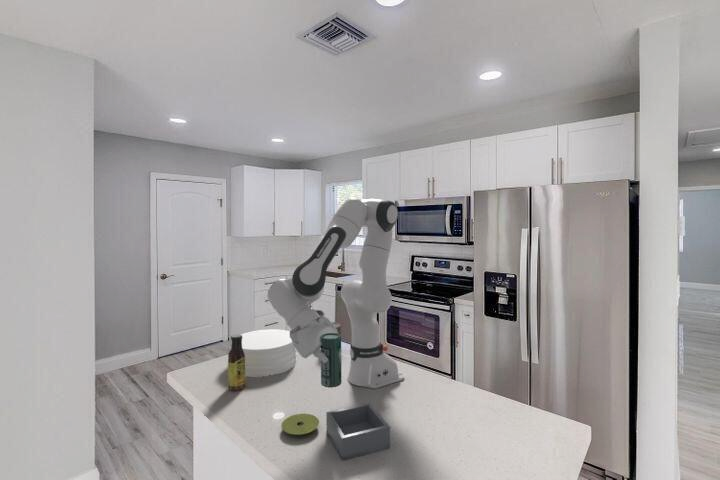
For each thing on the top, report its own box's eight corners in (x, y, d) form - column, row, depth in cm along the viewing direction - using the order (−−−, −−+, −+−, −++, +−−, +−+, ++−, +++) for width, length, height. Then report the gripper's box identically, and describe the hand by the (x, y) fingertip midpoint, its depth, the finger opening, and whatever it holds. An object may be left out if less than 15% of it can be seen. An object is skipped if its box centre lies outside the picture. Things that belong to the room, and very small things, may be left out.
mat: (326, 430, 107) (326, 424, 107) (292, 445, 100) (292, 439, 100) (307, 415, 115) (307, 409, 115) (274, 427, 108) (274, 421, 108)
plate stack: (309, 364, 158) (308, 338, 158) (250, 383, 139) (249, 354, 139) (276, 348, 179) (276, 325, 178) (221, 363, 159) (220, 338, 159)
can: (345, 383, 111) (344, 335, 111) (329, 389, 107) (329, 340, 106) (332, 377, 116) (332, 331, 115) (317, 383, 112) (316, 336, 111)
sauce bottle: (240, 392, 132) (239, 339, 131) (224, 390, 133) (223, 338, 132) (249, 384, 138) (248, 333, 137) (234, 383, 139) (233, 333, 138)
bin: (369, 421, 112) (369, 403, 111) (389, 447, 99) (389, 426, 98) (326, 431, 106) (326, 412, 106) (342, 460, 93) (341, 438, 93)
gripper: (293, 325, 103) (324, 363, 100) (324, 309, 122) (351, 340, 119) (280, 339, 105) (310, 376, 102) (313, 320, 124) (339, 351, 121)
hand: (332, 356), depth 111 cm, fingers closed on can, 6 cm apart
